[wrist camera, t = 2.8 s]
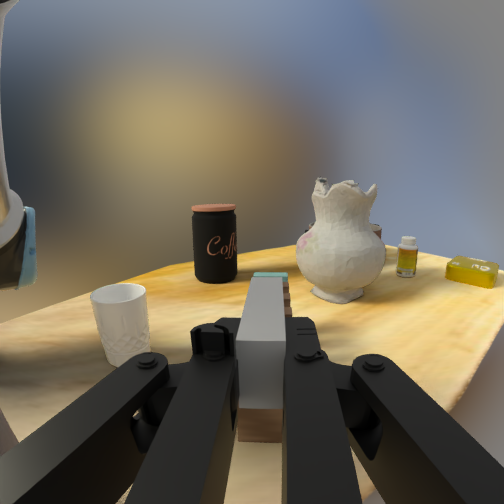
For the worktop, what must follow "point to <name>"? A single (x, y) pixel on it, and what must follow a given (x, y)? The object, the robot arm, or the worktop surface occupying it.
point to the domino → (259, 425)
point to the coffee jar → (214, 242)
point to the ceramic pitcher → (341, 242)
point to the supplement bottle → (407, 257)
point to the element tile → (472, 272)
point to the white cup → (122, 321)
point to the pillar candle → (6, 436)
